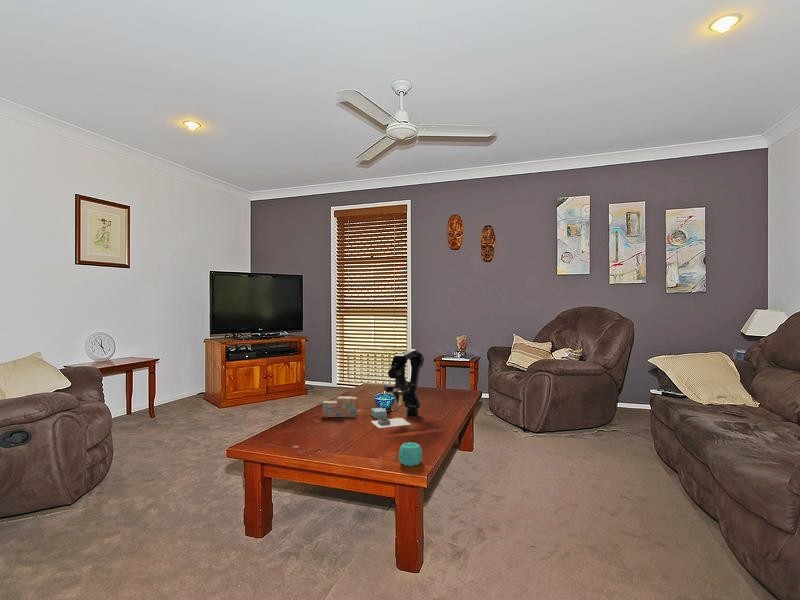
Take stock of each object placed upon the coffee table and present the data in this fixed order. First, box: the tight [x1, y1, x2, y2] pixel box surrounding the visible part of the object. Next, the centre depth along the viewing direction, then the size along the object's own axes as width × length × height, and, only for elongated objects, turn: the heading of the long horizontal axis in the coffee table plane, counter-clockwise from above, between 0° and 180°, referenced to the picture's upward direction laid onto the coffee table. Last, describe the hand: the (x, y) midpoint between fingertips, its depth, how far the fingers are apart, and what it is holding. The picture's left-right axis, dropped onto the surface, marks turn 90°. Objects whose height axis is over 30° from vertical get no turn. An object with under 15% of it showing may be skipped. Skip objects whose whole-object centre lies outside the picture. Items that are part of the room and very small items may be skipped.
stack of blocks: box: [322, 395, 359, 418], centre depth 275 cm, size 21×6×12 cm, turn 85°
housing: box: [370, 407, 388, 420], centre depth 270 cm, size 7×9×6 cm
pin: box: [397, 390, 404, 407], centre depth 258 cm, size 3×3×8 cm
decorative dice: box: [398, 442, 423, 467], centre depth 196 cm, size 8×8×8 cm
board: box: [370, 417, 411, 429], centre depth 255 cm, size 20×15×4 cm
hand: (400, 402), depth 258 cm, fingers closed on pin, 3 cm apart
